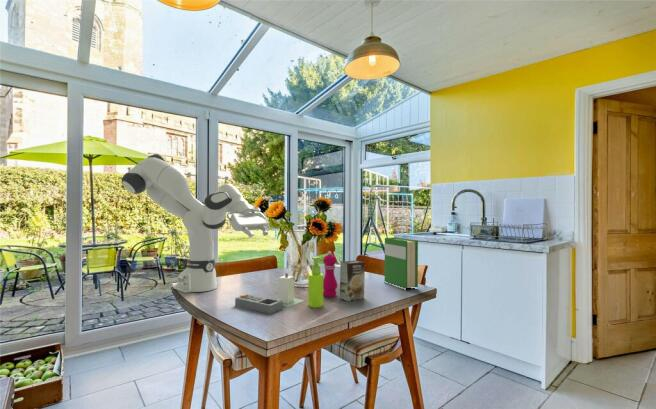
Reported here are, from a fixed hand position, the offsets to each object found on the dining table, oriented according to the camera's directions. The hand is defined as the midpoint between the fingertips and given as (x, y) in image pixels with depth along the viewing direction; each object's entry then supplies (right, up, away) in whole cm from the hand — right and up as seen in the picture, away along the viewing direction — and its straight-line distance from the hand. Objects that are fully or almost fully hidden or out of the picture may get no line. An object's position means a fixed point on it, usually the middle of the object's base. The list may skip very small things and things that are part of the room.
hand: (259, 235), depth 139 cm
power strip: (+3, -27, -15) cm, 31 cm away
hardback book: (+67, -28, +25) cm, 77 cm away
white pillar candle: (+13, -26, -7) cm, 30 cm away
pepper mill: (+30, -28, +7) cm, 42 cm away
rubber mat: (+13, -27, -7) cm, 31 cm away
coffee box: (+40, -28, +2) cm, 49 cm away
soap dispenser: (+25, -28, -11) cm, 39 cm away
